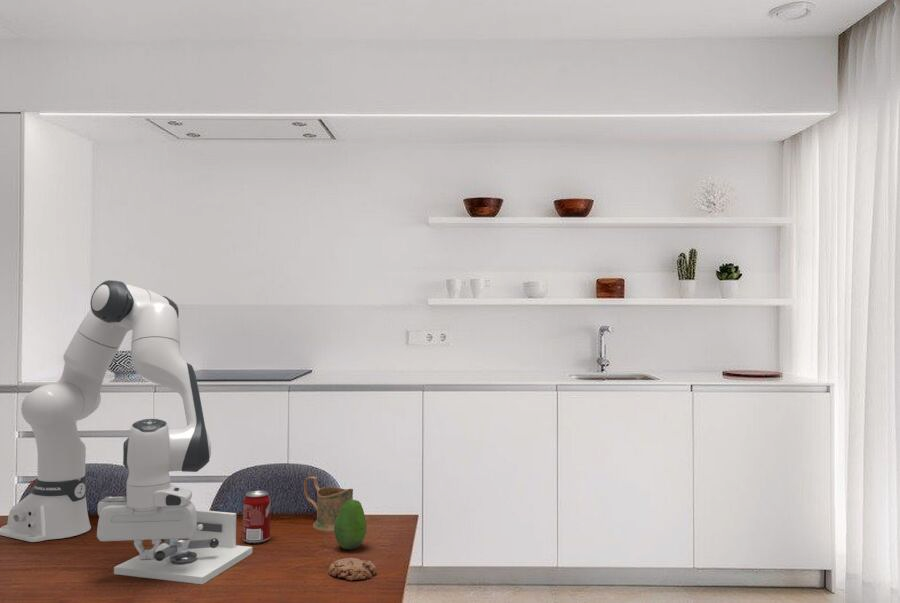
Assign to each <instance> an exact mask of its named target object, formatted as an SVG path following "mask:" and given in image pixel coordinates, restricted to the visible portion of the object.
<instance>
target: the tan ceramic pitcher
mask: <svg viewBox="0 0 900 603" xmlns="http://www.w3.org/2000/svg"><path fill="white" fill-rule="evenodd" d="M318 478H319V477H317V476H307V477H306V478H304V481H303V492H304V496H305V498H306V500H307V501H308V502H309V503H310V504H312V506H313V507H314V508H315V510H316V520H315V521H314V522H313V524H312V525H313V526H312V527H313V529H315V530H316V531H319V532H325V533H326V532H327V533H335V532H334V524H335V521H336V518H337V516H338V514H339V512H340V510H341V508H342V506H343V504H344V503H345V502H347V501H348V500H354V499H353V498H354V497H353V494H354V488H347V489H346V488H341V487H335V486H325V487H321V488H320V487H319V481H318V480H319V479H318ZM309 479H311V480H314V481H313V483H314V487H315V490H316V494H317V495H316V496H317V497H316V498H317V501H315V500H313V499H312V498H311V497H310V495H309V491H308V480H309Z"/></svg>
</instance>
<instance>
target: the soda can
mask: <svg viewBox="0 0 900 603" xmlns="http://www.w3.org/2000/svg"><path fill="white" fill-rule="evenodd" d="M241 533H242V534H241V535H242V538H241V540H242V541H244V542H246V544H247V543H248V544H251V543H253V545H255V544H256V543H257V544H262V543H265V542H266V541H268V540H269V539H270V538H271V497H270V496H269V492H268V491H265V490H251V491H247V492H246V493H245V497H244V499H243V500H242V532H241ZM254 543H255V544H254Z"/></svg>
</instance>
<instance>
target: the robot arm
mask: <svg viewBox="0 0 900 603" xmlns="http://www.w3.org/2000/svg"><path fill="white" fill-rule="evenodd" d="M90 298H91V299H90V309H89V311H88V312H87V314H86V315H85V317H84V318H83V319H82V321H81V323H80V324H79V326H78V328H77V330H76V332H74V333H75V334H74V335H73V337H72V339H71V340H70V342H69V344H68V346H67V348H66V349H65V351H64V354H63V360H64V366H63V371H62V374H61V376H60V379H59V380H58V381H57V382H55V383H50V384H44V385H41V386H39V387H37V388H36V389H34V390H32V391H31V392H29V393H27V394H26V396H25V397H24V398H23V399H22V403H21V411H20V412H21V415H22V418H23V420H25V422H26V423H27V424H28V425H29V426H30V428H31V429H32V432H33V436H34V439H35V443H36V450H37V451H36V452H37V478H36V479H34V480H31V481H28V485H27V486H28V487H32V488H31V491H30V493H29V494H28V495H27V496H25V497H24V498H23V499H21V500H20V501H19V502H17V503H16V504H15V505H13V506H12V507H11V508H10V510H9V513H8V516H7V524H5V525H3V526H1V527H0V536H4V537H6V538H12V539H16V540H20V541H25V542H30V543H36V542H38V543H39V542H43V541H48V540H58V539H65V538H66V539H67V538H72V537H74V536H79V535H83V534H84V533H87V532H89V531H90V530H91V528H92V526H91V523H90V518H89V514H88V505H87V499H86V498H87V497H86V493H87V488H88V476H87V474H86V456H87V455H86V454H87V452H86V449H87V448H86V444H85V443H84V441H82V439H81V437H80V434H79V431H78V425H77V421H78V422H79V421H82V420H84V419H86V418H87V417H89V416H91V414H93V413H94V412H96V410H97V409H98V408H99V406H100V404H101V402H102V401H101V399H102V397H101V389H102V386H103V382H104V380H105V376H106V373H107V371H108V369H109V368H110V365H111V364H112V362H113V360H114V358H115V357H116V354H117V352H118V351H119V350H120V347H121V344H122V343H123V341H124V339H125V337H126V335H127V333H128V332H129V331H132V332H131V333H132V335H131V342H130V343H131V344H130V348H131V349H130V354H131V355H130V356H131V365H132V367H133V369H134V371H135V372H136V373H137V374H138V375H139V376H141V377H142V378H144V380H147V381H149V382H151V383H153V384H158V385H160V386H164V387H165V388H169V389H171V390H173V391H175V393H176V392H177V393H178V394H179V396H180V397H181V399H182V402H183V409H184V415H185V420H186V427H183V428H170V429H169V424H168V422H166V420H162V419H158V418H146V419H141V420H138V421H135V422H133V423H132V424H131V427H130V431H129V436H128V438H126V440H125V441H124V442H123V446H122V448H123V449H122V451H123V452H122V453H123V455H122V456H123V458H122V460H123V461H122V465H123V466H124V467H125V468H126V469H127V470H128V477H127V478H126V495H119V496H111V495H110V496H105V497H104V498H102V499H101V500H100V501H99V502H98V504H97V515H98V522H97V529H96V538H97V539H98V540H99V542H118V541H119V542H121V541H122V542H124V541H133V542H134V543H133V546H134V547H135V548H136V551H137V552H138V553H139V554H138V555H139V560H154V559H155V550H156V549H157V547H158V546H159V545H161V544H160V543H161V542H162V541H161V539H182V538H192V537H193V536H194V534H195V533H196V531H197V516H196V510H197V509H196V507H195V504H194V503H193V501H191V500H192V497H193V491H192V490H191V489H189V488H185V487H183V486H177V485H175V484H172V483H171V476H170V474H169V473H170V472H183V473H184V472H185V473H188V472H189V473H197V472H199V471H200V470H202V469H203V468H204V467H205V466H206V465H207V464H208V463H209V462H210V459H211V454H212V444H211V441H210V437H209V434H208V432H207V428H206V423H205V417H204V412H203V411H204V410H203V408H202V407H203V406H202V401H201V400H202V399H201V395H200V389H199V384H198V381H197V376H196V372H195V370H194V367H193V365H192V364H190V363H189V362H186V360H185V359H184V357H183V355H182V353H181V352H182V351H181V334H180V323H179V313H180V311H179V307H178V305H177V303H175V302H174V301H173V299H170V298H169V297H167V296H164V295H161V294H159V293H156V292H154V291H152V290H150V289H148V288H145V287H140V286H137V285H136V286H135V285H133V284H132V285H131V284H129V283H128V284H127V283H125V282H123V281H118V280H114V279H113V280H109V279H108V280H105V281H103V282H101V283H100V284H98V286H96V288H95V289H94V291H93V293H92V295H91V297H90ZM144 540H145V541H149V540H151V544H152V545H153V547H152V548H151V549H152V550H150V549H145V548H144V545H143V542H144Z"/></svg>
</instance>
